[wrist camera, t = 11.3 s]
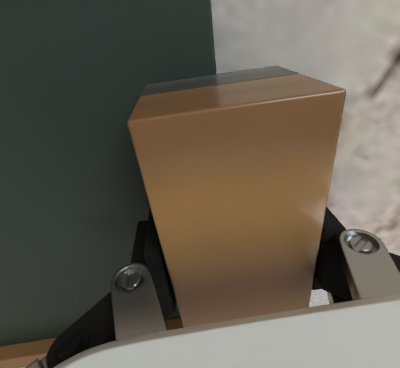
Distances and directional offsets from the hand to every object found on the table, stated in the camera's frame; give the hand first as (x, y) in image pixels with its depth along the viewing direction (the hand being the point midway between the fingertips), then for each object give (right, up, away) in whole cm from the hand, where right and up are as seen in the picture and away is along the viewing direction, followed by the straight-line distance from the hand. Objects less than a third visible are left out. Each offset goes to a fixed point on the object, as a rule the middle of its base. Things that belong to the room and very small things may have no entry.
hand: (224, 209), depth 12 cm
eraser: (0, 0, 0) cm, 0 cm away
